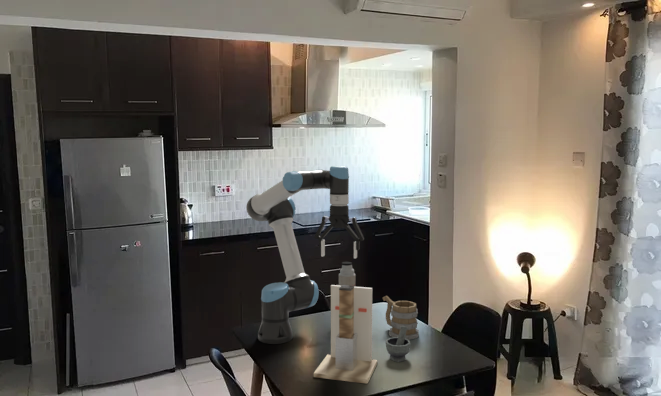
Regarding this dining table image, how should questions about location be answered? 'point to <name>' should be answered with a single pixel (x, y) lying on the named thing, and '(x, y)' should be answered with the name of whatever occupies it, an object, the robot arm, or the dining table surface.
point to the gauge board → (355, 321)
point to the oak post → (346, 311)
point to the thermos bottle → (347, 274)
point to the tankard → (402, 318)
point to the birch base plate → (359, 373)
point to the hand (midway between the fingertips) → (339, 257)
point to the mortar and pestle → (398, 346)
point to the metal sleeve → (346, 352)
